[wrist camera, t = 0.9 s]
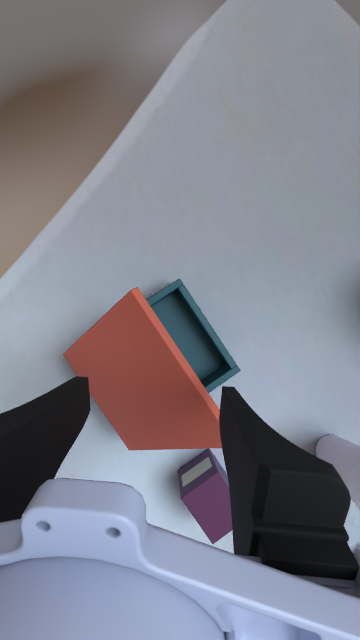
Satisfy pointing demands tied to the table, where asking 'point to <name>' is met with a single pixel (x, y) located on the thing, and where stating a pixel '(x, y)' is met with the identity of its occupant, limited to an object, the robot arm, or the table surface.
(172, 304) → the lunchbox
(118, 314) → the lunchbox lid
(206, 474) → the juice box
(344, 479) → the smoothie
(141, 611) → the robot arm
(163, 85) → the table surface
